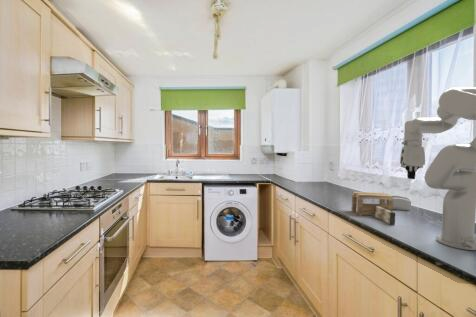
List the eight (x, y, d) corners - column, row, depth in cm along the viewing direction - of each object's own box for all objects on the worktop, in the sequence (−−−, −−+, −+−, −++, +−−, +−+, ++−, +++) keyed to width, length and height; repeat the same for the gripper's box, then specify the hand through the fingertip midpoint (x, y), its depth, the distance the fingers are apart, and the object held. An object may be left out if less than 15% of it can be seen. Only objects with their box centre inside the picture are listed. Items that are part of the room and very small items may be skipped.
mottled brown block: (373, 216, 129) (374, 205, 128) (376, 216, 129) (377, 205, 128) (391, 224, 114) (391, 212, 114) (394, 224, 114) (395, 213, 114)
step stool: (392, 217, 128) (393, 196, 128) (358, 215, 130) (359, 194, 130) (382, 212, 138) (383, 192, 138) (351, 211, 140) (352, 191, 139)
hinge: (407, 208, 149) (410, 195, 145) (410, 212, 144) (413, 199, 141) (378, 206, 153) (380, 193, 149) (380, 210, 148) (383, 197, 145)
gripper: (402, 143, 117) (401, 179, 117) (433, 144, 116) (431, 180, 117) (393, 144, 124) (392, 177, 125) (422, 144, 123) (420, 178, 124)
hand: (411, 178), depth 121 cm, fingers closed
